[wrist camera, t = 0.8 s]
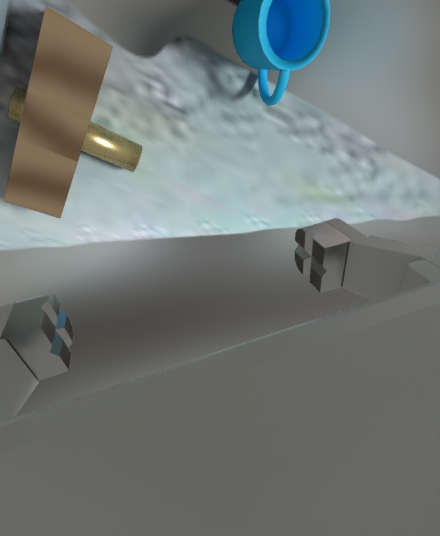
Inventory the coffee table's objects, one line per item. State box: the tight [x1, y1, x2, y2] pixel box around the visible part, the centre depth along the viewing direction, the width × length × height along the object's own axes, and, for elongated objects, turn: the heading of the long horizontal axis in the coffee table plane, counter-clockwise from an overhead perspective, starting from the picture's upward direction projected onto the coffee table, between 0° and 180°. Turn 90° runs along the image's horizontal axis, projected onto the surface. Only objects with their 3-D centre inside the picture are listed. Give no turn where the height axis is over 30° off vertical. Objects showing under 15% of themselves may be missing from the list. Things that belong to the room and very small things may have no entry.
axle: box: [8, 87, 142, 172], centre depth 36 cm, size 4×14×4 cm, turn 61°
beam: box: [4, 6, 113, 218], centre depth 34 cm, size 20×6×5 cm, turn 151°
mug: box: [232, 0, 330, 106], centre depth 35 cm, size 12×8×8 cm
